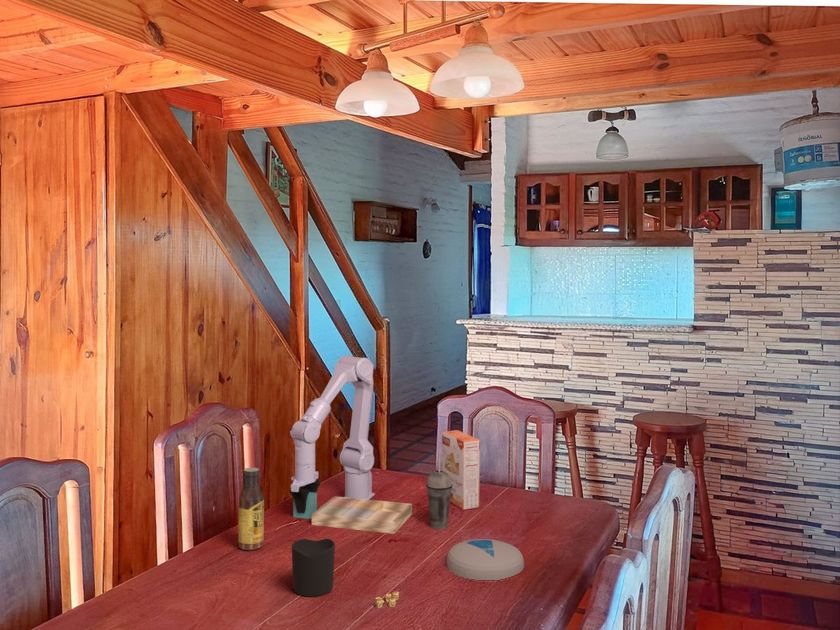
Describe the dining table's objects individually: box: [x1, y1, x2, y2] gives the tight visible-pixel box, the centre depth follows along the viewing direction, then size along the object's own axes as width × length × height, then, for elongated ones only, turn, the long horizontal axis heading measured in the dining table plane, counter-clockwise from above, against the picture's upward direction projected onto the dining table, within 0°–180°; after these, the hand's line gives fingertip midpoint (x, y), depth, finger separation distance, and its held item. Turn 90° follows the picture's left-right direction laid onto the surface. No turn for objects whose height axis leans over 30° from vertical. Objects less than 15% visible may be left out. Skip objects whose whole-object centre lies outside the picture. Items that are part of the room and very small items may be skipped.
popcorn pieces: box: [374, 590, 400, 609], centre depth 156 cm, size 5×5×2 cm
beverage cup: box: [425, 455, 453, 531], centre depth 201 cm, size 7×7×20 cm
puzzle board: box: [311, 495, 413, 535], centre depth 207 cm, size 24×16×3 cm
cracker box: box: [441, 429, 481, 511], centre depth 222 cm, size 14×6×21 cm, turn 25°
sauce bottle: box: [237, 467, 265, 551], centre depth 186 cm, size 7×6×20 cm
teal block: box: [292, 492, 318, 520], centre depth 210 cm, size 5×5×6 cm
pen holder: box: [291, 538, 336, 598], centre depth 162 cm, size 9×9×10 cm
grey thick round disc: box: [446, 538, 525, 581], centre depth 176 cm, size 18×18×5 cm
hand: (305, 509), depth 210 cm, fingers closed on teal block, 5 cm apart
